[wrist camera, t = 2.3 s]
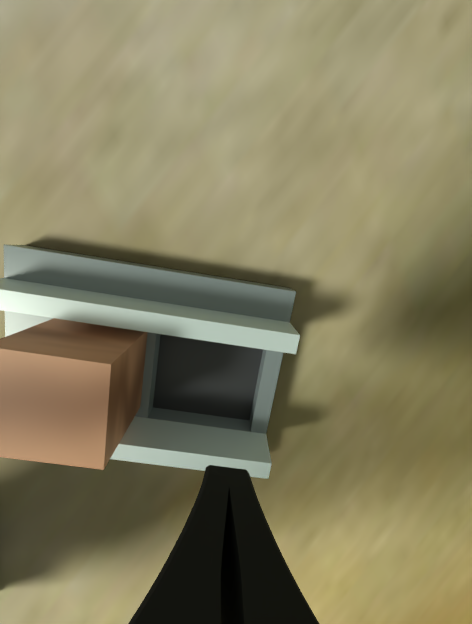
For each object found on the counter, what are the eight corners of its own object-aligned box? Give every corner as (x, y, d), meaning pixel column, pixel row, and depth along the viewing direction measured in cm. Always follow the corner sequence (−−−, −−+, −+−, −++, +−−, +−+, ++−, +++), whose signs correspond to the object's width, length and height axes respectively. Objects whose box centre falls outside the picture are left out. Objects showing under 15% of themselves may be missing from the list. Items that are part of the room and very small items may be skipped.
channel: (256, 454, 20) (262, 505, 16) (24, 424, 19) (-30, 470, 15) (290, 288, 17) (307, 299, 13) (24, 245, 16) (-41, 243, 12)
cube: (140, 406, 17) (103, 469, 12) (57, 395, 17) (-15, 455, 12) (147, 329, 16) (111, 364, 11) (59, 316, 16) (-19, 346, 11)
